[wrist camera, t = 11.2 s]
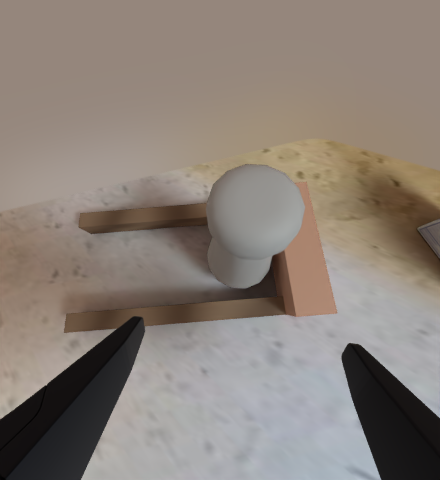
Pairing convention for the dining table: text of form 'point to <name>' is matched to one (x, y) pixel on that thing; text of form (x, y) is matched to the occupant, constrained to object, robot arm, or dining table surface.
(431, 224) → the medicine box
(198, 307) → the guide rails
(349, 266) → the dining table surface
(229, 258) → the salt shaker
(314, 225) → the end stop
